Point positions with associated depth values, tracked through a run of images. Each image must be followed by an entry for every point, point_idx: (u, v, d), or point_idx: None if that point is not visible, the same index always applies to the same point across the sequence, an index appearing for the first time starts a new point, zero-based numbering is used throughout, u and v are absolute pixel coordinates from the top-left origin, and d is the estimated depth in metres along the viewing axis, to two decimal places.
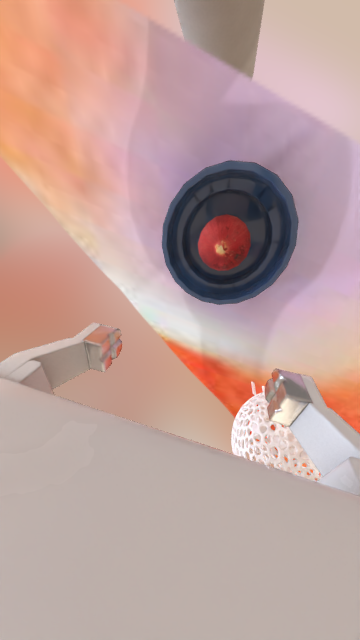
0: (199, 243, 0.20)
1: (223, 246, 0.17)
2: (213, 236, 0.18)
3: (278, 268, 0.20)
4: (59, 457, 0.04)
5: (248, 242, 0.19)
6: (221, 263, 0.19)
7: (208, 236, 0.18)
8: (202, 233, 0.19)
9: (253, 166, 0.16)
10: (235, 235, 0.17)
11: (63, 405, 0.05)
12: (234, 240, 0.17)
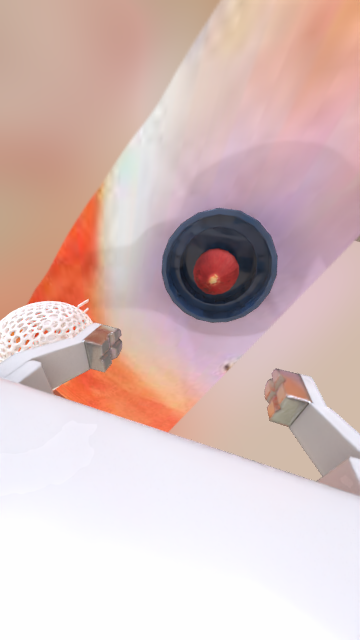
0: (218, 253, 0.21)
1: (215, 283, 0.20)
2: (223, 270, 0.20)
3: (196, 314, 0.27)
4: (59, 457, 0.04)
5: None
6: (201, 278, 0.21)
7: (223, 265, 0.20)
8: (226, 256, 0.21)
9: (267, 292, 0.22)
10: (222, 288, 0.22)
11: (63, 405, 0.05)
12: (219, 288, 0.21)
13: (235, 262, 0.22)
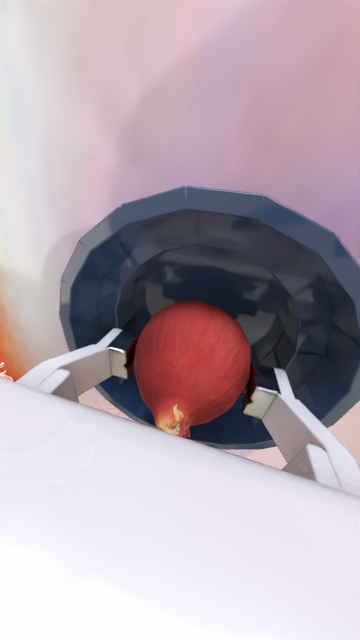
0: (190, 328, 0.07)
1: None
2: (204, 390, 0.06)
3: None
4: (59, 457, 0.04)
5: None
6: (142, 395, 0.07)
7: (204, 374, 0.06)
8: (215, 338, 0.07)
9: (328, 422, 0.08)
10: None
11: (63, 405, 0.05)
12: (193, 425, 0.07)
13: (241, 349, 0.08)
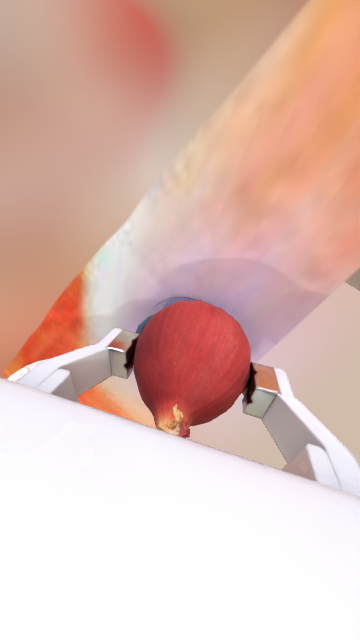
0: (190, 328, 0.07)
1: None
2: (203, 390, 0.06)
3: None
4: (59, 457, 0.04)
5: None
6: (142, 395, 0.07)
7: (204, 374, 0.06)
8: (215, 338, 0.07)
9: None
10: None
11: (63, 405, 0.05)
12: (193, 425, 0.07)
13: (241, 349, 0.07)
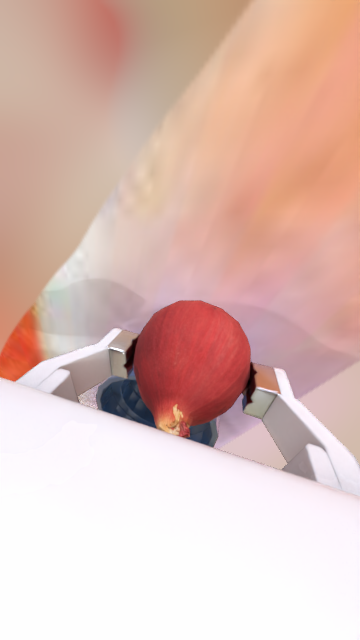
0: (190, 328, 0.07)
1: None
2: (204, 390, 0.06)
3: None
4: (59, 457, 0.04)
5: None
6: (142, 396, 0.07)
7: (204, 374, 0.06)
8: (215, 337, 0.07)
9: (211, 446, 0.20)
10: None
11: (63, 405, 0.05)
12: (193, 425, 0.07)
13: (241, 349, 0.07)
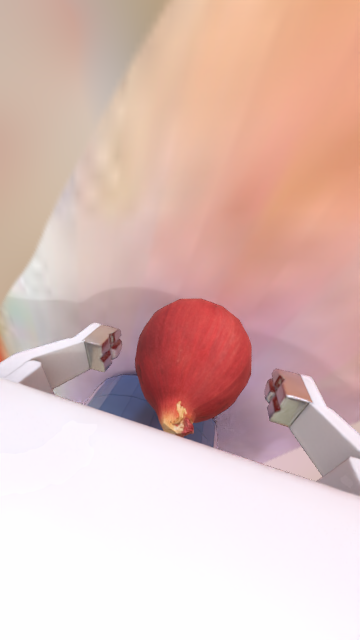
0: (192, 325, 0.07)
1: None
2: (207, 387, 0.06)
3: None
4: (59, 457, 0.04)
5: None
6: (144, 393, 0.07)
7: (207, 371, 0.06)
8: (217, 335, 0.07)
9: None
10: None
11: (63, 405, 0.05)
12: (196, 422, 0.07)
13: (243, 346, 0.08)
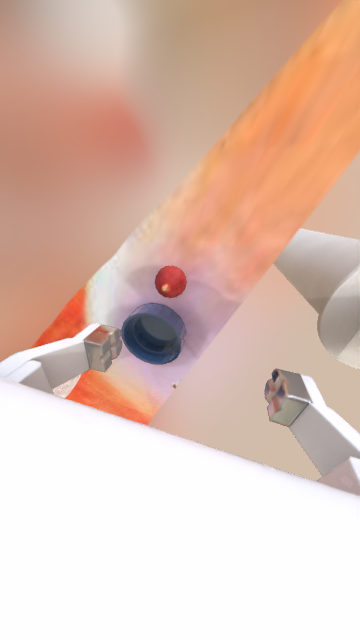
0: (169, 270, 0.31)
1: (166, 290, 0.30)
2: (172, 282, 0.30)
3: (144, 359, 0.44)
4: (59, 457, 0.04)
5: (171, 297, 0.34)
6: (158, 287, 0.31)
7: (172, 278, 0.31)
8: (175, 272, 0.31)
9: (179, 351, 0.40)
10: (173, 293, 0.32)
11: (63, 405, 0.05)
12: (170, 293, 0.31)
13: (181, 275, 0.32)
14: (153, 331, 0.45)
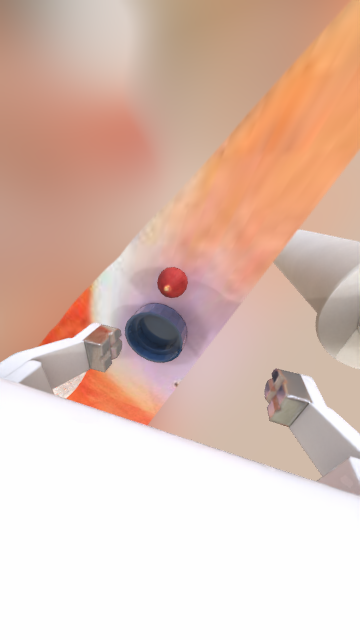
0: (171, 271, 0.33)
1: (167, 290, 0.32)
2: (173, 282, 0.32)
3: (147, 357, 0.46)
4: (59, 457, 0.04)
5: (173, 297, 0.35)
6: (160, 287, 0.33)
7: (173, 279, 0.32)
8: (176, 273, 0.32)
9: (180, 349, 0.41)
10: (174, 293, 0.33)
11: (63, 405, 0.05)
12: (172, 293, 0.33)
13: (183, 276, 0.33)
14: (156, 330, 0.46)
